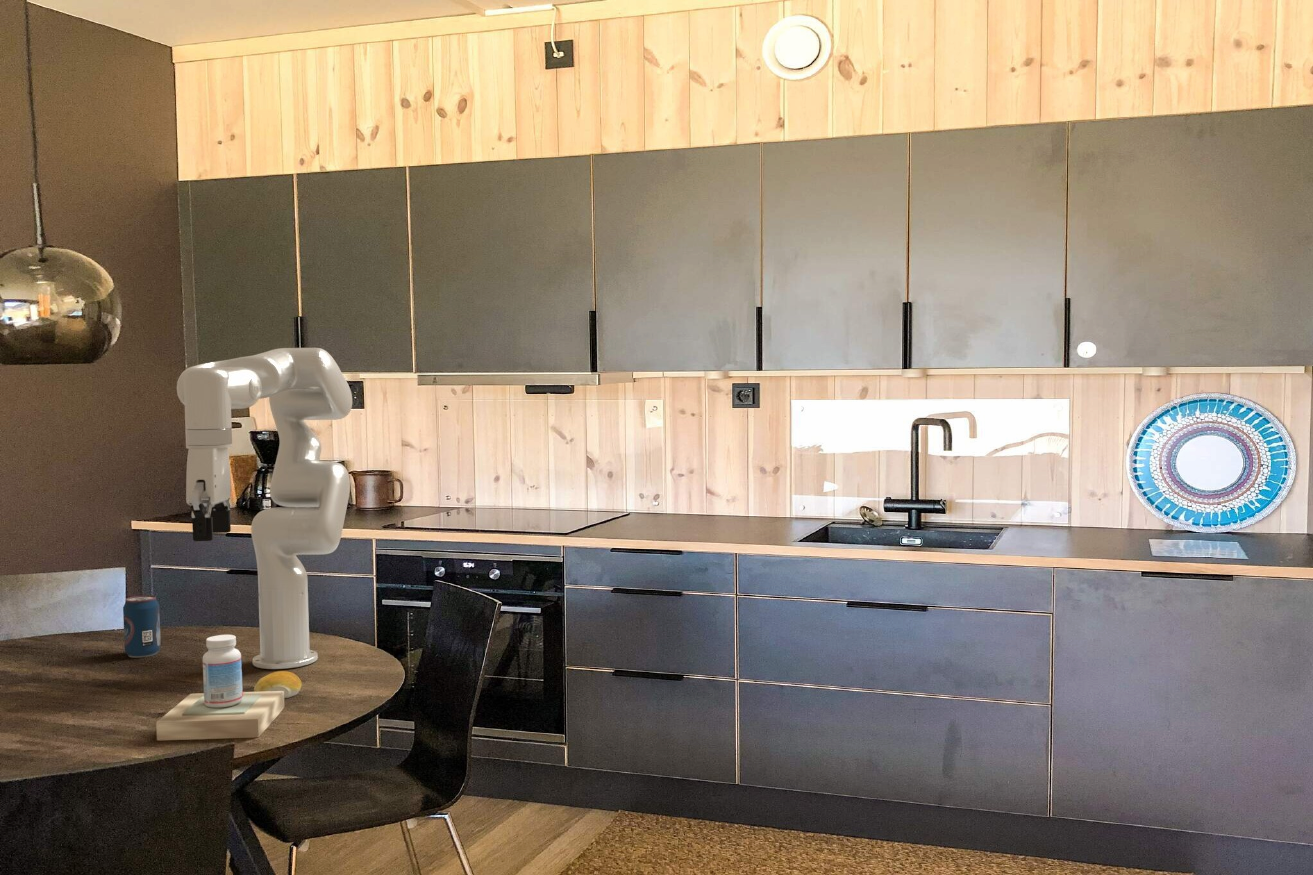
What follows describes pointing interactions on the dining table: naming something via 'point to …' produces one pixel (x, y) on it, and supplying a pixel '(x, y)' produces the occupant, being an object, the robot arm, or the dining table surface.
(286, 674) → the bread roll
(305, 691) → the dining table surface
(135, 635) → the soda can
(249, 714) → the birch plinth
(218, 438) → the robot arm
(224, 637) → the pill bottle
